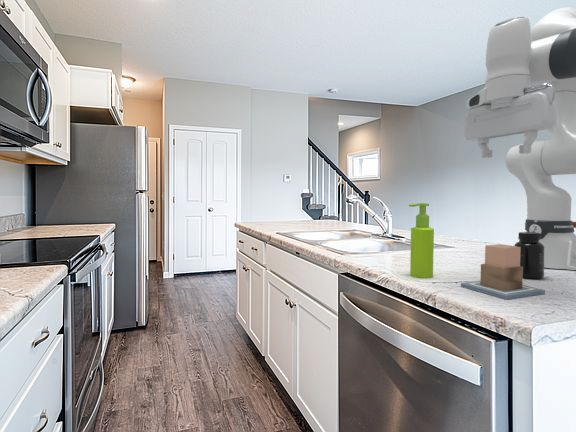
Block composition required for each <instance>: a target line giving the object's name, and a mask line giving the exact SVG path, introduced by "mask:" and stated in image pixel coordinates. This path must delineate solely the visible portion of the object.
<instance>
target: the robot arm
mask: <svg viewBox="0 0 576 432" xmlns="http://www.w3.org/2000/svg"><path fill="white" fill-rule="evenodd" d="M485 67H486V70H487V72H486V73H487V74H486V79H485V81H484V83H485V84H484V87H483V88H482V89H481V90H480V91H478V92H477V93H475V94H474V95H473V96H471V97H470V98H468V99H467V100H466V102H465V106H466V107H465V108H466V109H469V110H467V112H466V114H465V119H464V128H463V129H464V133H463V134H464V138H465V139H466V140H467V141H472V142H477V146H478V147H479V148H480V150H481V158H482V159H488V158H492V157H493V149H490V148H489V145H488V144H490V139H496V138H504V137H509V136H514V135H520V134H523V135H524V137H525V139H524V141H523V143H520V144H517V145H515V146H512V147H510V149H508V151H507V152H506V156H505V162H504V163H505V167H506V169H507V170H508V171H509V173H511V174H512V175H514V176H515V177H516V178H517V180H519V181H520V183H521V185H522V187H523V189H524V191H525V195H526V205H527V206H526V207H527V208H526V212H527V215H526V216H527V217H526V219H525V223H524V230H525V232H536V233H540V240H539V242H540V243H541V244H543V246H544V269H556V270H557V269H558V270H571V271H576V234H575V233H574V232H575V229H576V221H573V220H572V218H571V216H572V196H571V195H570V193H569V192H568V191H567V190H566V189H564V188H561V187H559V186H557V185H555V183H554V182H553V179H552V176H559V175H560V176H563V175H576V7H572V6H565V7H560V8H557V9H555V10H552V11H550V12H548V13H547V14H545V15H544V16H543V17H541V18H540V19H539V20H538V21H537V22H536V23H534V25H533V26H532V28H531V22H530V19H529V18H528V17H524V16H520V17H513V18H510V19H505V20H503V21H501V22H500V21H499V22H498V23H496V24H495V25H493V26H492V27H491V28H490V31H489V33H488V38H487V44H486V52H485ZM539 84H540V85H539ZM534 85H535V86H534ZM539 131H547V132H549V133H551V134H553V135H552V138H550V139H544V140H537V141H535V140H536V139H537V138H538V132H539Z"/></svg>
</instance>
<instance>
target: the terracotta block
mask: <svg viewBox="0 0 576 432" xmlns="http://www.w3.org/2000/svg"><path fill="white" fill-rule="evenodd" d="M484 248H485V249H484V250H485V251H484V264H486V265H491V266H495V267H500V268H512V267H520V252H521V247H517V246H514V245H508V244H501V243H498V244H486V245H485V246H484Z"/></svg>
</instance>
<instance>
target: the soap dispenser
mask: <svg viewBox="0 0 576 432" xmlns="http://www.w3.org/2000/svg"><path fill="white" fill-rule="evenodd" d="M408 206H409V207H412V208H413V207H417V206H419V207H418V208H419V209H418V210H419V211H418V212H419V213H418V214H417V215H415V227H414V226H413V227H411V228H410V263H409V264H410V268H409V269H410V272H409V273H410V277H413V278H417V279H418V278H419V279H429V278H430V279H431V278H433V277H434V250H435V249H434V244H435V243H434V239H435V238H434V237H435V233H434V230H435V229H434V228H433V227H430V215H428V214H427V207H428V206H430V204H429V203H423V202H415V203H410V204H408Z"/></svg>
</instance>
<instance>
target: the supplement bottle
mask: <svg viewBox="0 0 576 432" xmlns="http://www.w3.org/2000/svg"><path fill="white" fill-rule="evenodd" d="M517 240H519V241H516V242H515V243H514V245H513V246H517V247H521V252H520V266H522V267H523V279H527V280H542V279H543V278H544V277H545V268H544V246H543V244H541V243H540V242H539V240H540V233H536V232H526V231H519V232H518V237H517Z"/></svg>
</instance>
